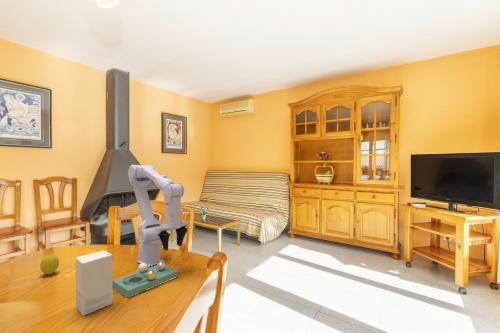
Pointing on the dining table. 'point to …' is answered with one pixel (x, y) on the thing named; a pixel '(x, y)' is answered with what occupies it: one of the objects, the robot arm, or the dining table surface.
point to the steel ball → (161, 266)
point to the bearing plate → (142, 280)
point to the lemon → (49, 264)
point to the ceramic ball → (143, 267)
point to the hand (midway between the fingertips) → (172, 247)
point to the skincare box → (93, 281)
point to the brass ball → (151, 275)
